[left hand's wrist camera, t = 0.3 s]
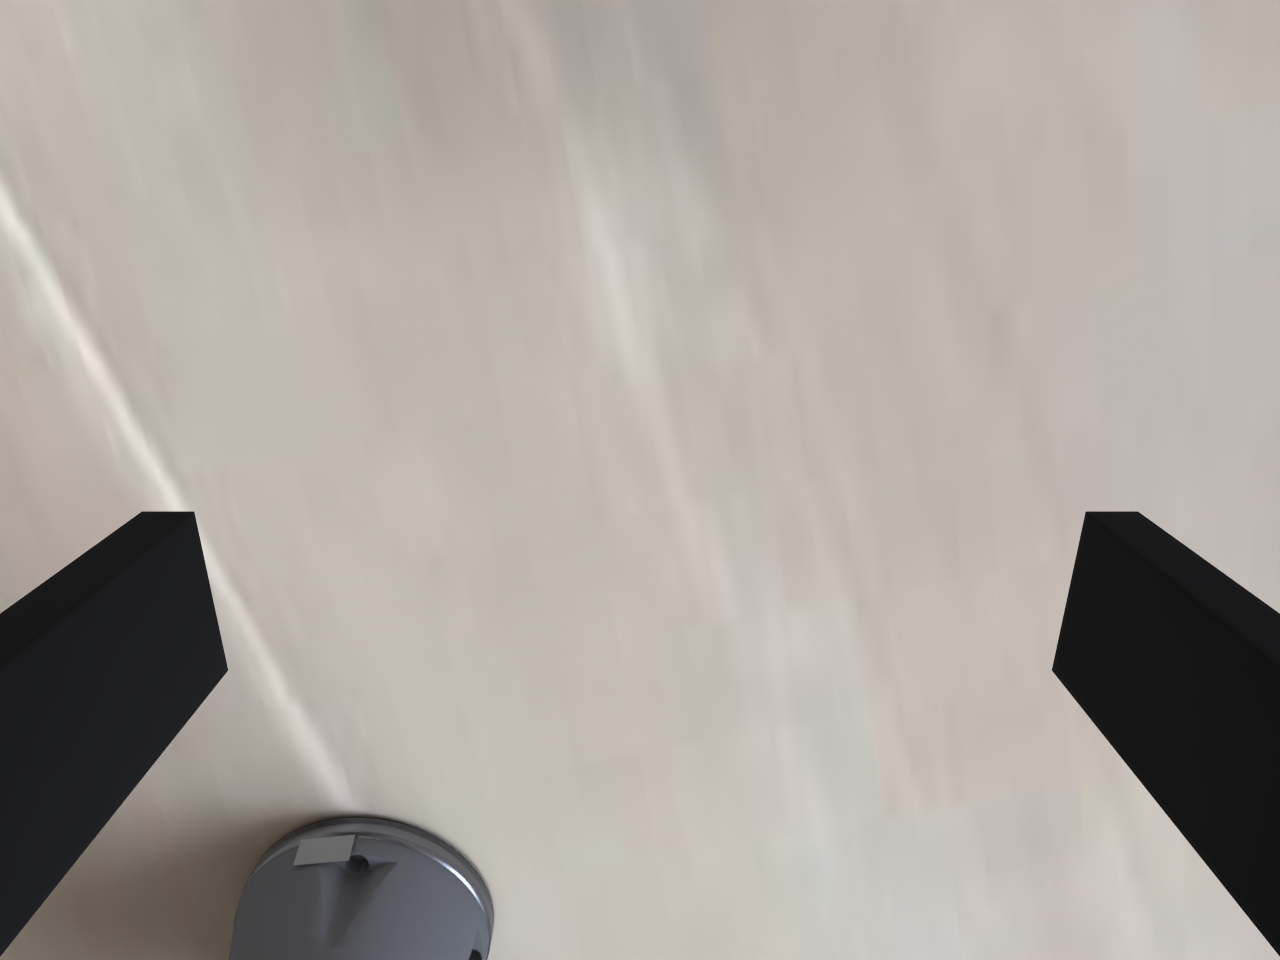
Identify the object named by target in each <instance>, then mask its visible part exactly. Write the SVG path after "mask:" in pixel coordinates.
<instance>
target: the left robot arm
mask: <svg viewBox="0 0 1280 960" xmlns="http://www.w3.org/2000/svg"><path fill="white" fill-rule="evenodd" d="M227 671H228V668H227V663H226V658H225V654H224V649H223V644H222V640H221V635H220V630H219V626H218V621H217V616H216V612H215V607H214V602H213V598H212V593H211V588H210V584H209V579H208V574H207V570H206V565H205V560H204V556H203V551H202V546H201V542H200V537H199V532H198V527H197V523H196V518H195V513H194V512H141V513H140V514H138V515H137V516H135V517H134V518H133V519H131V520H130V521H128V522H127V523H126V524H124V525H123V526H121V527H120V528H119V529H117V530H116V531H115V532H113V533H112V534H110V535H109V536H108V537H106V538H105V539H103V540H102V541H101V542H99V543H98V544H96V545H95V546H94V547H92V548H91V549H90V550H88V551H87V552H85V553H84V554H83V555H81V556H80V557H78V558H77V559H76V560H74V561H73V562H71V563H70V564H69V565H67V566H66V567H65V568H63V569H62V570H60V571H59V572H58V573H56V574H55V575H53V576H52V577H51V578H49V579H48V580H46V581H45V582H44V583H42V584H41V585H40V586H38V587H37V588H35V589H34V590H33V591H31V592H30V593H28V594H27V595H26V596H24V597H23V598H21V599H20V600H19V601H17V602H16V603H15V604H13V605H12V606H10V607H9V608H8V609H6V610H5V611H3V612H2V613H1V614H0V956H1V955H2V953H3V952H4V951H5V950H6V948H7V947H8V946H9V945H10V943H11V942H12V941H13V940H14V938H15V937H16V936H17V935H18V933H19V932H20V931H21V930H22V928H23V927H24V926H25V925H26V923H27V922H28V921H29V920H30V918H31V917H32V916H33V915H34V913H35V912H36V911H37V910H38V908H39V907H40V906H41V905H42V903H43V902H44V901H45V899H46V898H47V897H48V896H49V894H50V893H51V892H52V891H53V889H54V888H55V887H56V886H57V884H58V883H59V882H60V881H61V879H62V878H63V877H64V876H65V874H66V873H67V872H68V871H69V869H70V868H71V867H72V866H73V864H74V863H75V862H76V861H77V859H78V858H79V857H80V856H81V854H82V853H83V852H84V851H85V849H86V848H87V847H88V846H89V844H90V843H91V842H92V840H93V839H94V838H95V837H96V835H97V834H98V833H99V832H100V830H101V829H102V828H103V827H104V825H105V824H106V823H107V822H108V820H109V819H110V818H111V817H112V815H113V814H114V813H115V812H116V810H117V809H118V808H119V807H120V805H121V804H122V803H123V802H124V800H125V799H126V798H127V797H128V795H129V794H130V793H131V792H132V790H133V789H134V788H135V786H136V785H137V784H138V783H139V781H140V780H141V779H142V778H143V776H144V775H145V774H146V773H147V771H148V770H149V769H150V768H151V766H152V765H153V764H154V763H155V761H156V760H157V759H158V758H159V756H160V755H161V754H162V753H163V751H164V750H165V749H166V748H167V746H168V745H169V744H170V743H171V741H172V740H173V739H174V738H175V736H176V735H177V734H178V733H179V731H180V730H181V729H182V727H183V726H184V725H185V724H186V722H187V721H188V720H189V719H190V717H191V716H192V715H193V714H194V712H195V711H196V710H197V709H198V707H199V706H200V705H201V704H202V702H203V701H204V700H205V699H206V697H207V696H208V695H209V694H210V692H211V691H212V690H213V689H214V687H215V686H216V685H217V684H218V682H219V681H220V680H221V679H222V677H223V676H224V675H225V674H226V672H227ZM1052 671H1053V672H1054V674H1055V675H1056V676H1057V677H1058V679H1059V680H1060V681H1061V682H1062V684H1063V685H1064V686H1065V687H1066V689H1067V690H1068V691H1069V692H1070V694H1071V695H1072V696H1073V697H1074V699H1075V700H1076V701H1077V702H1078V704H1079V705H1080V706H1081V707H1082V709H1083V710H1084V711H1085V712H1086V714H1087V715H1088V716H1089V717H1090V719H1091V720H1092V721H1093V722H1094V724H1095V725H1096V726H1097V727H1098V729H1099V730H1100V731H1101V733H1102V734H1103V735H1104V736H1105V738H1106V739H1107V740H1108V741H1109V743H1110V744H1111V745H1112V746H1113V748H1114V749H1115V750H1116V751H1117V753H1118V754H1119V755H1120V756H1121V758H1122V759H1123V760H1124V761H1125V763H1126V764H1127V765H1128V766H1129V768H1130V769H1131V770H1132V771H1133V773H1134V774H1135V775H1136V776H1137V778H1138V779H1139V780H1140V781H1141V783H1142V784H1143V785H1144V787H1145V788H1146V789H1147V790H1148V792H1149V793H1150V794H1151V795H1152V797H1153V798H1154V799H1155V800H1156V802H1157V803H1158V804H1159V805H1160V807H1161V808H1162V809H1163V810H1164V812H1165V813H1166V814H1167V815H1168V817H1169V818H1170V819H1171V820H1172V822H1173V823H1174V824H1175V825H1176V827H1177V828H1178V829H1179V830H1180V832H1181V833H1182V834H1183V835H1184V837H1185V838H1186V839H1187V840H1188V842H1189V843H1190V844H1191V846H1192V847H1193V848H1194V849H1195V851H1196V852H1197V853H1198V854H1199V856H1200V857H1201V858H1202V859H1203V861H1204V862H1205V863H1206V864H1207V866H1208V867H1209V868H1210V869H1211V871H1212V872H1213V873H1214V874H1215V876H1216V877H1217V878H1218V879H1219V881H1220V882H1221V883H1222V884H1223V886H1224V887H1225V888H1226V889H1227V891H1228V892H1229V893H1230V894H1231V896H1232V897H1233V898H1234V899H1235V901H1236V902H1237V903H1238V905H1239V906H1240V907H1241V908H1242V910H1243V911H1244V912H1245V913H1246V915H1247V916H1248V917H1249V918H1250V920H1251V921H1252V922H1253V923H1254V925H1255V926H1256V927H1257V928H1258V930H1259V931H1260V932H1261V933H1262V935H1263V936H1264V937H1265V938H1266V940H1267V941H1268V942H1269V943H1270V945H1271V946H1272V947H1273V948H1274V950H1275V951H1276V952H1277V953H1278V955H1279V956H1280V614H1279V613H1278V612H1277V611H1275V610H1274V609H1272V608H1271V607H1270V606H1268V605H1267V604H1265V603H1264V602H1263V601H1261V600H1260V599H1259V598H1257V597H1256V596H1254V595H1253V594H1252V593H1250V592H1249V591H1247V590H1246V589H1245V588H1243V587H1242V586H1240V585H1239V584H1238V583H1236V582H1235V581H1234V580H1232V579H1231V578H1229V577H1228V576H1227V575H1225V574H1224V573H1222V572H1221V571H1220V570H1218V569H1217V568H1215V567H1214V566H1213V565H1211V564H1210V563H1209V562H1207V561H1206V560H1204V559H1203V558H1202V557H1200V556H1199V555H1197V554H1196V553H1195V552H1193V551H1192V550H1190V549H1189V548H1188V547H1186V546H1185V545H1184V544H1182V543H1181V542H1179V541H1178V540H1177V539H1175V538H1174V537H1172V536H1171V535H1170V534H1168V533H1167V532H1165V531H1164V530H1163V529H1161V528H1160V527H1159V526H1157V525H1156V524H1154V523H1153V522H1152V521H1150V520H1149V519H1147V518H1146V517H1145V516H1143V515H1142V514H1140V513H1139V512H1086V513H1085V518H1084V523H1083V527H1082V532H1081V537H1080V541H1079V546H1078V551H1077V556H1076V560H1075V565H1074V570H1073V574H1072V579H1071V584H1070V588H1069V593H1068V598H1067V602H1066V607H1065V612H1064V616H1063V621H1062V626H1061V630H1060V635H1059V640H1058V644H1057V649H1056V654H1055V658H1054V663H1053V668H1052Z"/></svg>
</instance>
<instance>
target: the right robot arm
mask: <svg viewBox="0 0 1280 960" xmlns="http://www.w3.org/2000/svg"><path fill="white" fill-rule="evenodd" d="M493 927H494V912H493V905H492V901H491V898H490V895H489V892H488V890H487V887H486V886H485V884H484V882H483V880H482V878H481V877H480V875H479V874H478V873H477V871H476V870H475V869H474V868H473V866H472V865H471V864H470V863H469V862H468V861H467V860H466V859H465V858H464V857H463V856H462V855H461V854H460V853H458V852H457V851H456V850H455V849H453V848H452V847H451V846H449V845H448V844H446V843H444V842H443V841H441V840H440V839H438V838H436V837H434V836H432V835H430V834H428V833H426V832H424V831H421V830H419V829H416V828H413V827H411V826H408V825H404V824H401V823H397V822H393V821H388V820H382V819H374V818H340V819H332V820H327V821H322V822H318V823H314V824H311V825H308V826H305V827H303V828H300V829H298V830H296V831H294V832H292V833H290V834H288V835H287V836H285V837H283V838H282V839H280V840H279V841H278V842H277V843H275V844H274V845H273V846H272V847H271V848H270V849H269V850H268V851H267V852H266V853H265V854H264V855H263V857H262V858H261V859H260V860H259V862H258V864H257V865H256V867H255V869H254V871H253V873H252V874H251V876H250V878H249V880H248V882H247V884H246V886H245V887H244V889H243V892H242V894H241V897H240V901H239V905H238V908H237V911H236V915H235V922H234V931H233V937H232V943H231V949H230V955H229V960H487V958H488V954H489V949H490V944H491V939H492V934H493Z"/></svg>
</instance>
